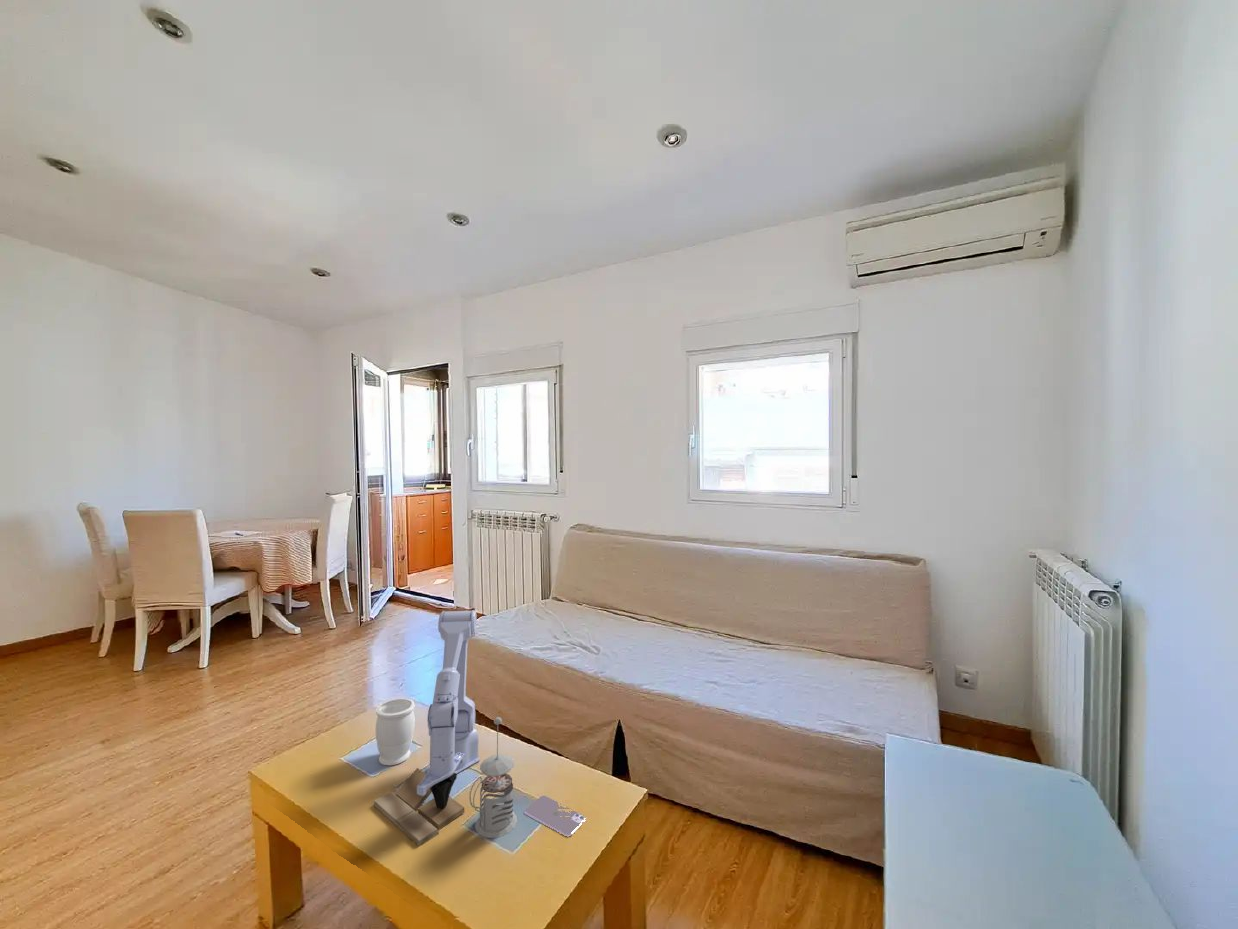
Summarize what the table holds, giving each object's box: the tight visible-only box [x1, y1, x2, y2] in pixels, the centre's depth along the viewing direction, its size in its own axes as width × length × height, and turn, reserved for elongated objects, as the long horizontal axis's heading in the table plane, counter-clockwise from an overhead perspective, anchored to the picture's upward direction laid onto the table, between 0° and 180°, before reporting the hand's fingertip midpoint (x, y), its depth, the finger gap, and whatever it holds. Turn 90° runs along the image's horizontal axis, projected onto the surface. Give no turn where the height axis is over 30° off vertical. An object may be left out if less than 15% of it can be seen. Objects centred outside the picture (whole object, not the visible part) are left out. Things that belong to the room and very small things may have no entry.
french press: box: [468, 716, 518, 839], centre depth 115 cm, size 10×12×25 cm
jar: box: [375, 697, 416, 766], centre depth 140 cm, size 11×10×15 cm
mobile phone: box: [523, 795, 587, 836], centre depth 117 cm, size 8×1×15 cm
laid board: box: [373, 791, 440, 847], centre depth 116 cm, size 5×21×1 cm, turn 53°
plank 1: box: [394, 767, 432, 812], centre depth 123 cm, size 7×9×1 cm
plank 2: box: [417, 796, 465, 831], centre depth 118 cm, size 7×9×1 cm
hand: (441, 806), depth 118 cm, fingers closed
